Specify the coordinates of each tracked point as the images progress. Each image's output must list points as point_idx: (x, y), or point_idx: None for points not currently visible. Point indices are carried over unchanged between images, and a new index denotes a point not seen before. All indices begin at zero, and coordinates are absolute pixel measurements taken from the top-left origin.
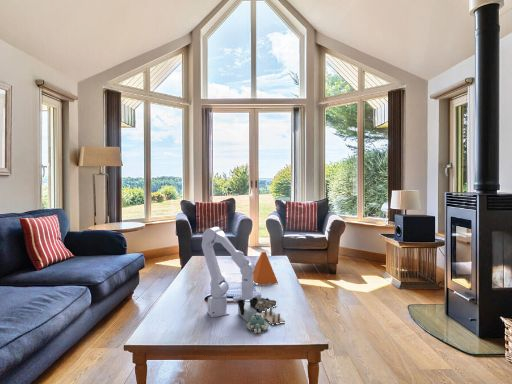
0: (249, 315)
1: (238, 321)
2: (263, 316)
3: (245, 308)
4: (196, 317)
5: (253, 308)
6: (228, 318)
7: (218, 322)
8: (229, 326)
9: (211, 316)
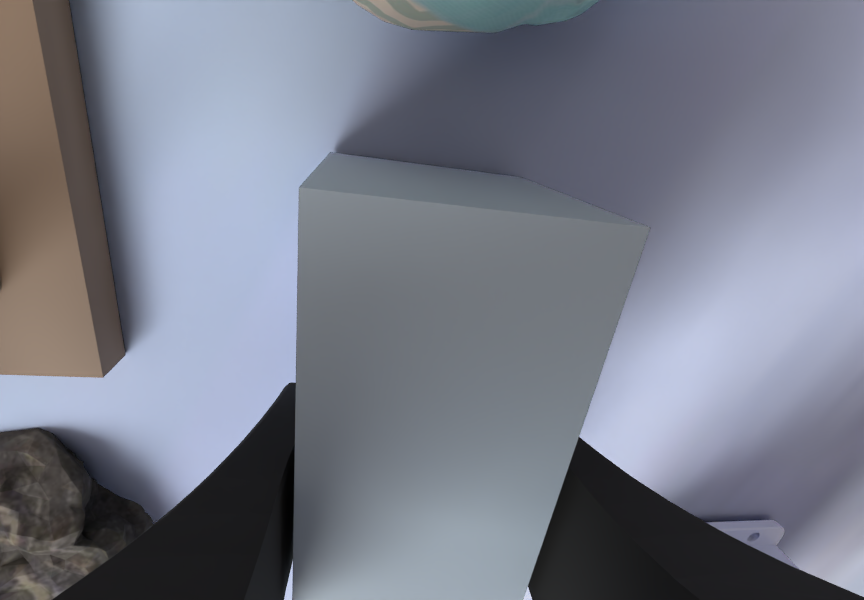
0: (535, 197)
1: None
2: (75, 203)
3: (524, 482)
4: (858, 559)
5: (303, 405)
6: (650, 438)
7: (821, 386)
8: (833, 203)
9: (783, 530)
